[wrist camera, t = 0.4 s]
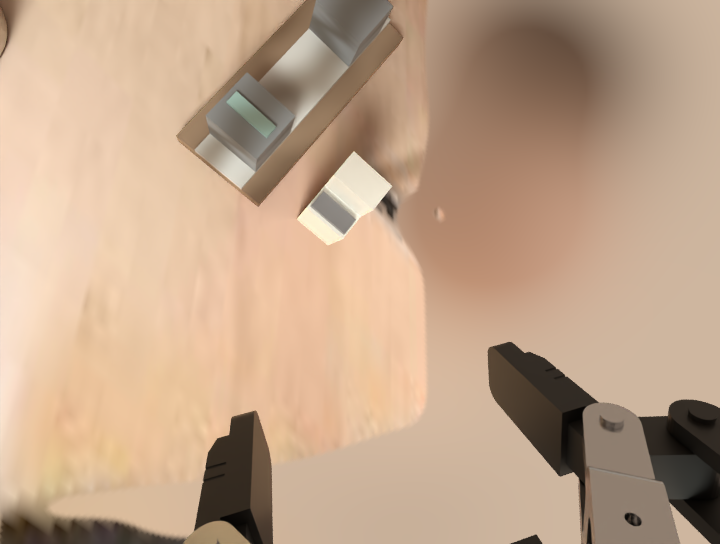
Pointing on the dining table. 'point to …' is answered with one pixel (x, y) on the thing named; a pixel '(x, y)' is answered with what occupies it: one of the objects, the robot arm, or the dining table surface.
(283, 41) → the rail plate
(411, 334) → the dining table surface
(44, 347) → the dining table surface
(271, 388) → the dining table surface
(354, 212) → the block
